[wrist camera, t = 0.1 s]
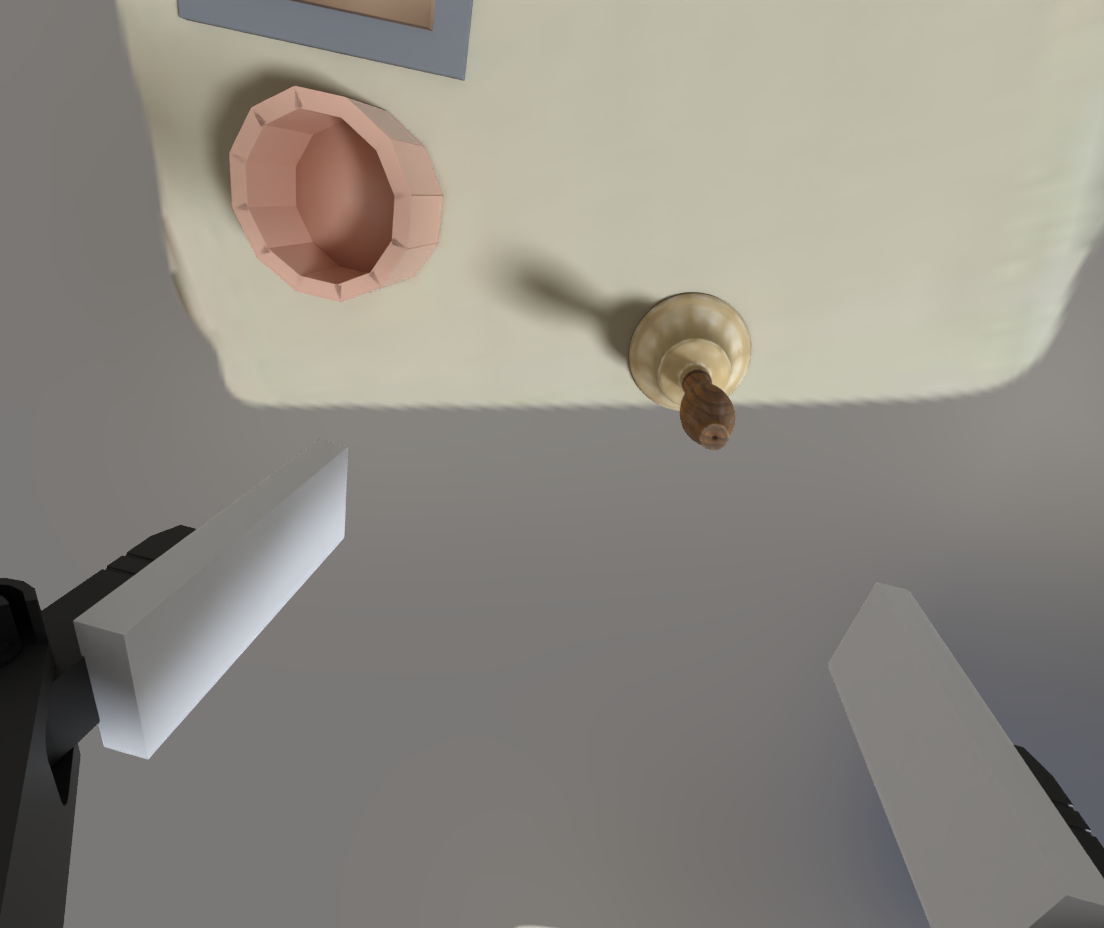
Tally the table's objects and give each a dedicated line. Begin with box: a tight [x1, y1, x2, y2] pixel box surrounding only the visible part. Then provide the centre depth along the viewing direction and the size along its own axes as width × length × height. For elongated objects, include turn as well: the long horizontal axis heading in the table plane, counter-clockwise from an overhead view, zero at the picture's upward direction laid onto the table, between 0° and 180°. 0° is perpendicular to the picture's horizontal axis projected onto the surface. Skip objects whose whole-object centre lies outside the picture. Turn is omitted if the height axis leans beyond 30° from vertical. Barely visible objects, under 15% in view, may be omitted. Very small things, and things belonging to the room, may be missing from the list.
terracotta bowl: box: [229, 86, 443, 302], centre depth 35 cm, size 11×11×6 cm
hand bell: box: [629, 293, 751, 450], centre depth 32 cm, size 8×8×16 cm
